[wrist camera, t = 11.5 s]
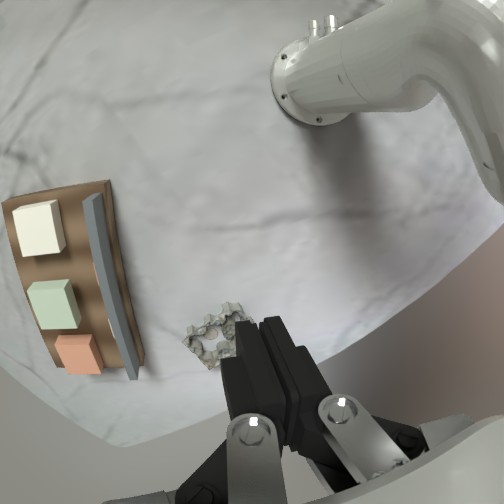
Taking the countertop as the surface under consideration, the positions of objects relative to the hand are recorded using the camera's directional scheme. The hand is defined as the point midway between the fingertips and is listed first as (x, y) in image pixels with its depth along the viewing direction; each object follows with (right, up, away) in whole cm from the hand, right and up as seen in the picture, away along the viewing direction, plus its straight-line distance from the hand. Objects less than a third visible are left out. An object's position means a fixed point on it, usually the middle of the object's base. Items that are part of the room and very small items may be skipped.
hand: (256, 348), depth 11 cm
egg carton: (-5, -8, +35) cm, 36 cm away
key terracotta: (-26, -11, +27) cm, 40 cm away
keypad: (-26, -1, +27) cm, 37 cm away
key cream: (-27, +7, +20) cm, 34 cm away
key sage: (-26, -3, +22) cm, 34 cm away
